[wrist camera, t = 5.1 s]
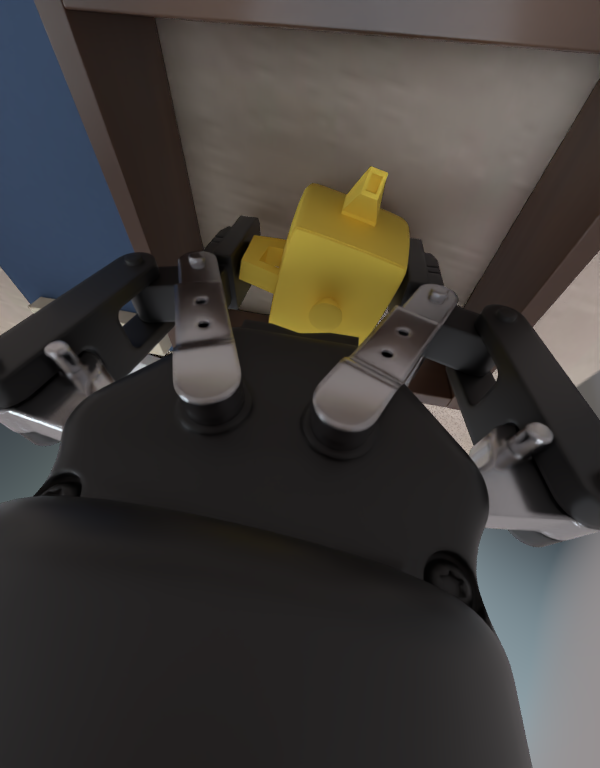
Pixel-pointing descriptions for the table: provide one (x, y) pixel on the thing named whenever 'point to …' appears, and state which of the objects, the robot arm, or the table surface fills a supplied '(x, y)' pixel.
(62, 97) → the bed mat
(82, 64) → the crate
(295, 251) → the teapot
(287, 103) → the table surface
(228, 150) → the table surface
